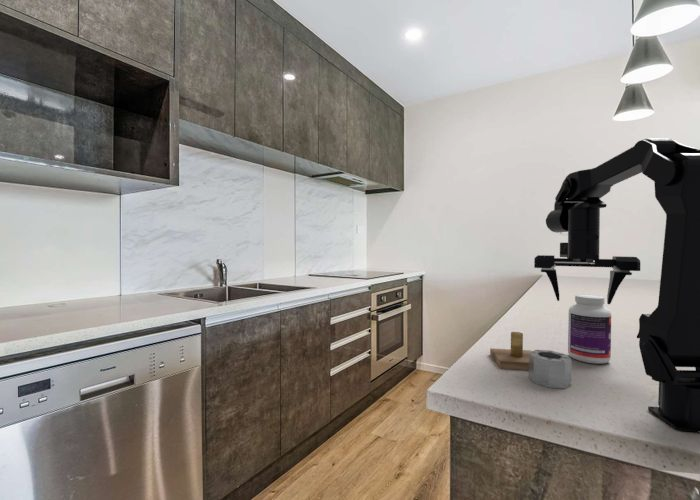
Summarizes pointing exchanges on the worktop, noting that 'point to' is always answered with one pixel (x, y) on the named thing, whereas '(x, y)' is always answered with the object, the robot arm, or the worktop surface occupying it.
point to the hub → (550, 368)
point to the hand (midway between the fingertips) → (582, 302)
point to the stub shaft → (512, 354)
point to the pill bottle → (589, 330)
